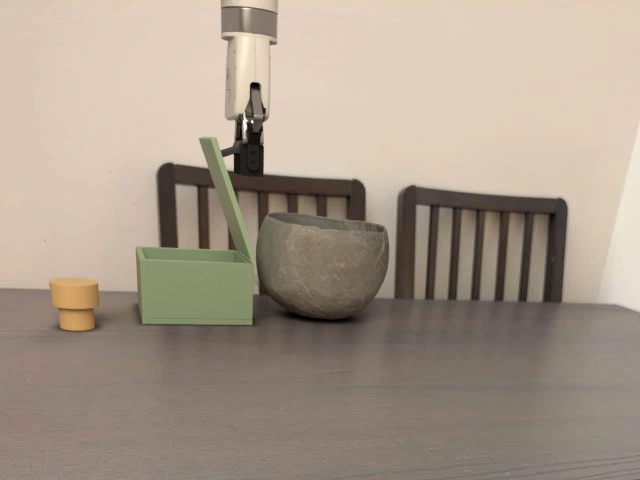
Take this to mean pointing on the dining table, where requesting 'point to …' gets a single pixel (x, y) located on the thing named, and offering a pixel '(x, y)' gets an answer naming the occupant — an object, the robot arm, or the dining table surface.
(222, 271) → the green open box
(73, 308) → the wooden stepped cylinder
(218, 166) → the lid
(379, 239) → the bowl
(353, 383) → the dining table surface
